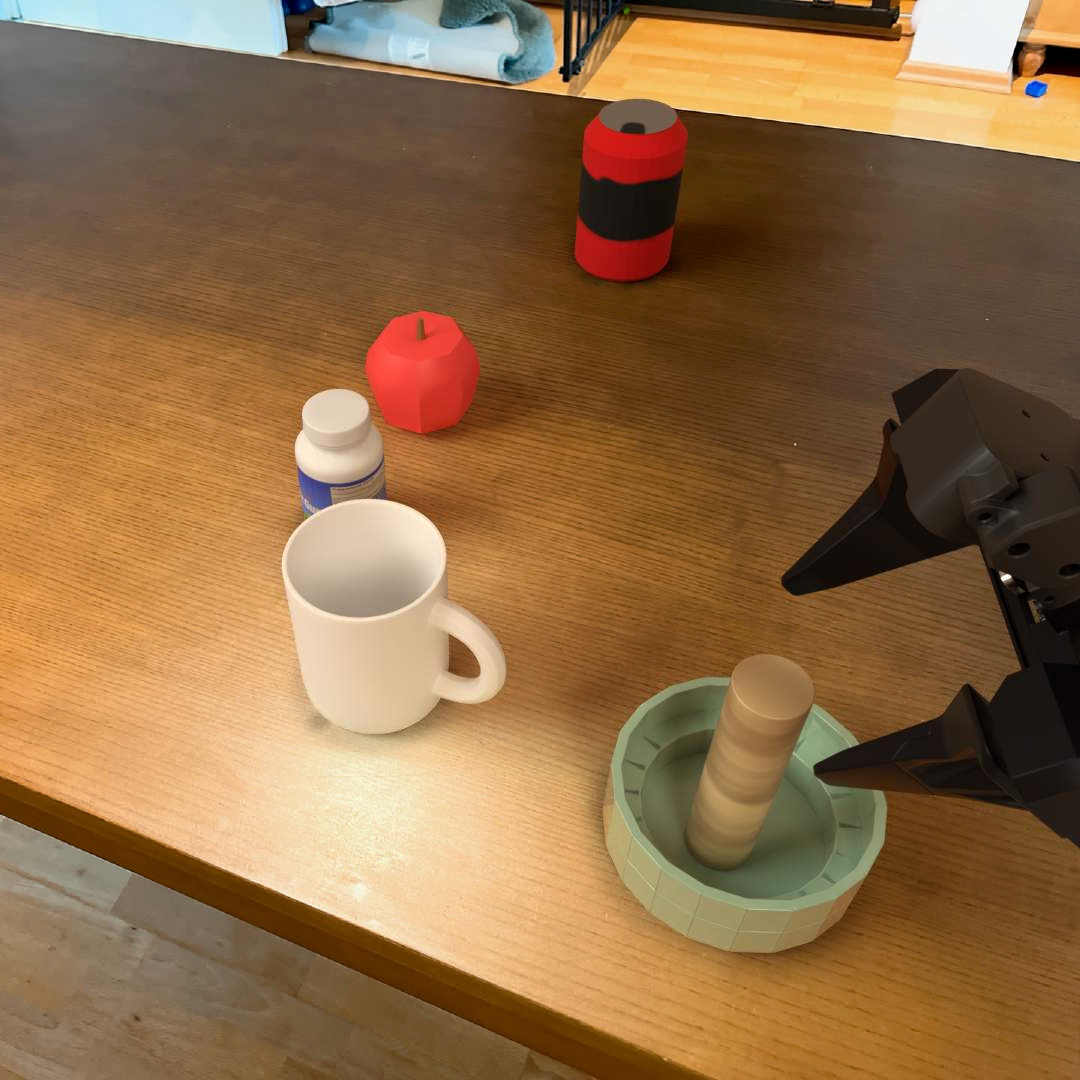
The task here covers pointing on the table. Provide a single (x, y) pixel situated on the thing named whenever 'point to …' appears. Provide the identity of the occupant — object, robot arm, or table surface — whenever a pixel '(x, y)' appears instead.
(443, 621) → the mug
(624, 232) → the soda can
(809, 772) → the bowl
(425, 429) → the apple
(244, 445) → the table surface
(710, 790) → the stick
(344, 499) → the pill bottle
